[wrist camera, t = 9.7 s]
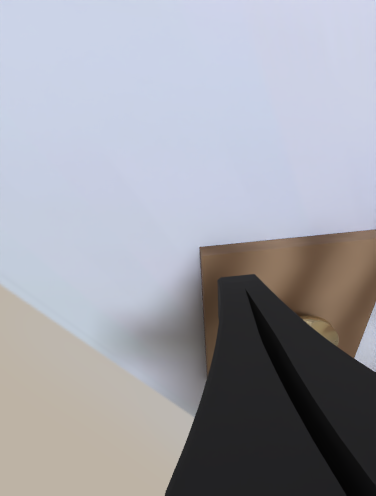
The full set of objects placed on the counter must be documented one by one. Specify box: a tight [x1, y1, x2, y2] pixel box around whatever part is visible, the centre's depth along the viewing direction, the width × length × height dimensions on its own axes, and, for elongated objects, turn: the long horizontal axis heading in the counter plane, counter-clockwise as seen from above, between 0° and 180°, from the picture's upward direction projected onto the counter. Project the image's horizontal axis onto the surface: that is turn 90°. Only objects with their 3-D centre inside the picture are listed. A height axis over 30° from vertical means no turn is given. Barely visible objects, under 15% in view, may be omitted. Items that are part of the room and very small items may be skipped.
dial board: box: [200, 230, 376, 377], centre depth 23 cm, size 14×16×3 cm
